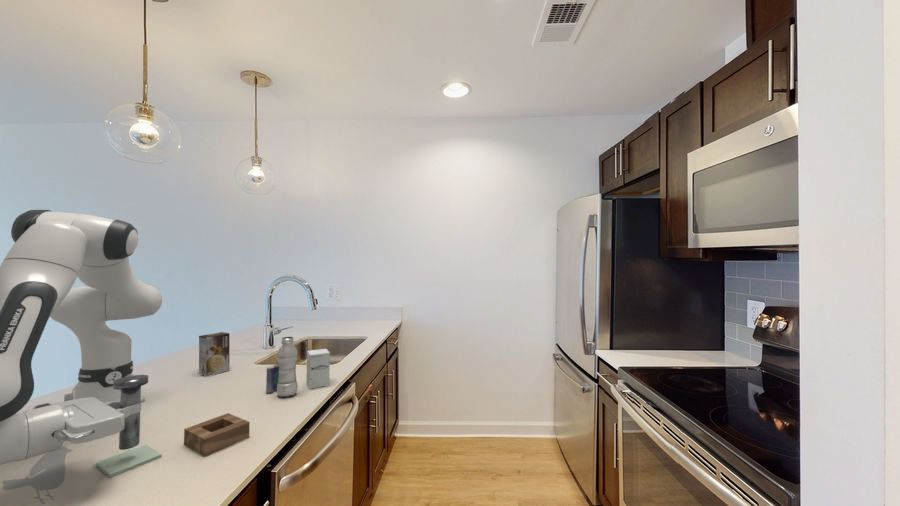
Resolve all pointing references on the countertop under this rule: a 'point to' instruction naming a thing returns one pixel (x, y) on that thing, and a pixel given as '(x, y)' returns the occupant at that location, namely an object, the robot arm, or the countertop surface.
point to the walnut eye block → (216, 434)
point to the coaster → (128, 460)
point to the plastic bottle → (287, 368)
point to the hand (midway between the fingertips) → (135, 404)
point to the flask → (272, 378)
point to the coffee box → (213, 353)
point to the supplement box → (318, 368)
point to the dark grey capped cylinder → (128, 397)
